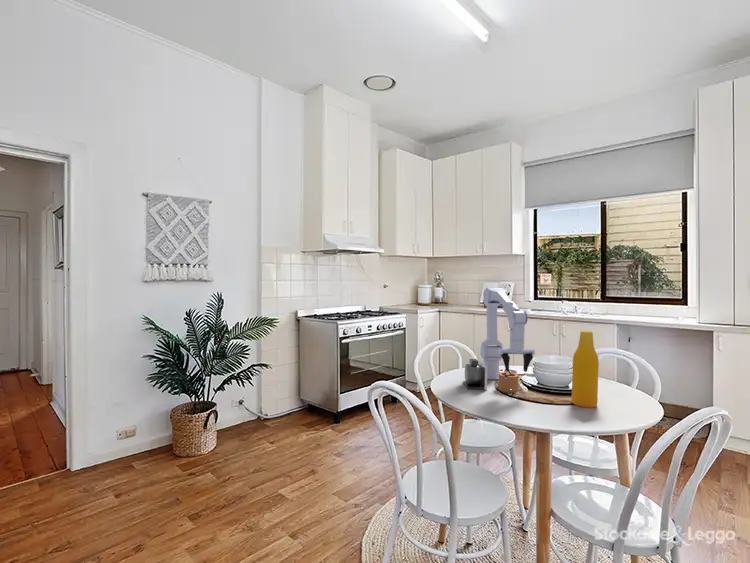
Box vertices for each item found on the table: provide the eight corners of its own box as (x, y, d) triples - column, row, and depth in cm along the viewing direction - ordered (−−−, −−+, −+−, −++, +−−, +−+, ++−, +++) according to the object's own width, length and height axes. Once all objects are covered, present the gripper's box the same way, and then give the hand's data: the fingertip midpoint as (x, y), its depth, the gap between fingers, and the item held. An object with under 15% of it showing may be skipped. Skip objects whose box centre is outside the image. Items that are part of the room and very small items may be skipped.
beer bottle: (566, 401, 168) (568, 330, 167) (584, 399, 171) (586, 329, 170) (583, 409, 160) (586, 333, 158) (602, 406, 162) (605, 332, 161)
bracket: (517, 393, 178) (517, 377, 178) (497, 391, 182) (497, 375, 181) (520, 383, 195) (520, 368, 195) (502, 381, 198) (502, 366, 198)
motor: (462, 382, 194) (463, 356, 193) (479, 382, 194) (480, 357, 194) (468, 390, 182) (469, 363, 181) (486, 390, 182) (487, 363, 182)
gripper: (502, 340, 172) (502, 373, 172) (537, 341, 172) (536, 373, 172) (497, 337, 179) (496, 369, 180) (531, 338, 179) (530, 369, 180)
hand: (516, 371), depth 176 cm, fingers open, 7 cm apart
